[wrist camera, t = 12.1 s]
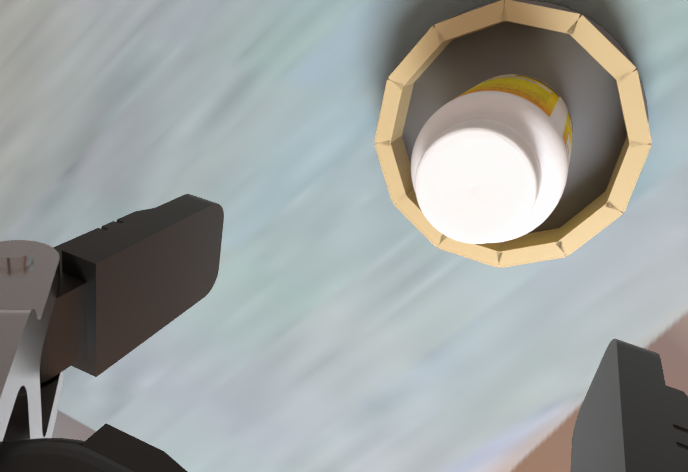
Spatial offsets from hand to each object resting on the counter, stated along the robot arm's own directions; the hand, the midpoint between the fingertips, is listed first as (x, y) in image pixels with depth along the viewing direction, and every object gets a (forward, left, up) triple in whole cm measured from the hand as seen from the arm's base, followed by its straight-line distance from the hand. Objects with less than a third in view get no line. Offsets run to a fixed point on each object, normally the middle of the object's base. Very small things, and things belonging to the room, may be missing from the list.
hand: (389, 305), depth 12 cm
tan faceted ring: (0, 0, -20) cm, 20 cm away
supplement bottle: (0, 0, -19) cm, 19 cm away
